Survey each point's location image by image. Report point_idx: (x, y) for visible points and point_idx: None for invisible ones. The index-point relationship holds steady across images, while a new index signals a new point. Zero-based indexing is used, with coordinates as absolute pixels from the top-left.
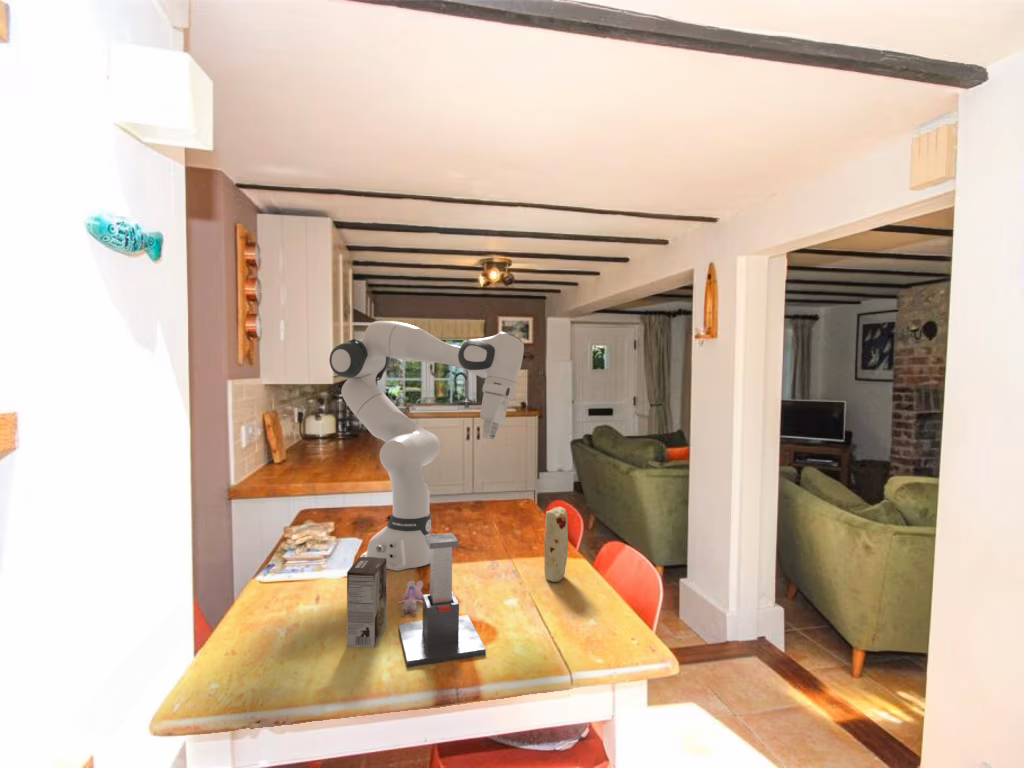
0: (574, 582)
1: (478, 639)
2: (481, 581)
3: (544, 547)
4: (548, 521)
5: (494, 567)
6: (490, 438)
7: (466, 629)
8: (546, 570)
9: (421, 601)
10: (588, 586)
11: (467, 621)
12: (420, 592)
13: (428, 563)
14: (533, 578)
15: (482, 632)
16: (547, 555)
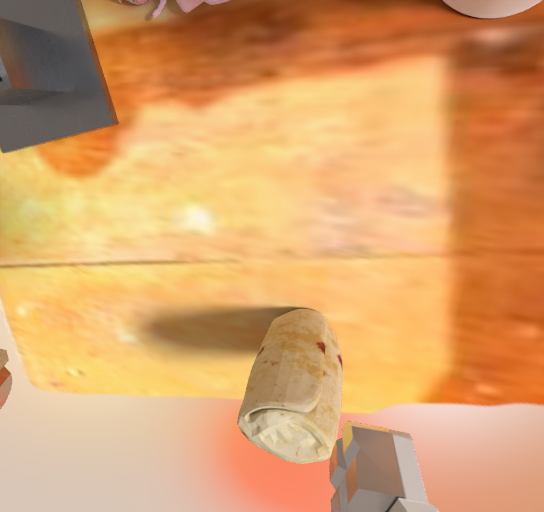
0: None
1: (28, 142)
2: (304, 163)
3: (306, 341)
4: (261, 389)
5: (392, 203)
6: (342, 434)
7: (58, 120)
8: (289, 317)
9: (155, 11)
10: None
11: (87, 123)
12: (182, 2)
13: (445, 2)
14: (311, 283)
15: (76, 151)
16: (275, 335)
